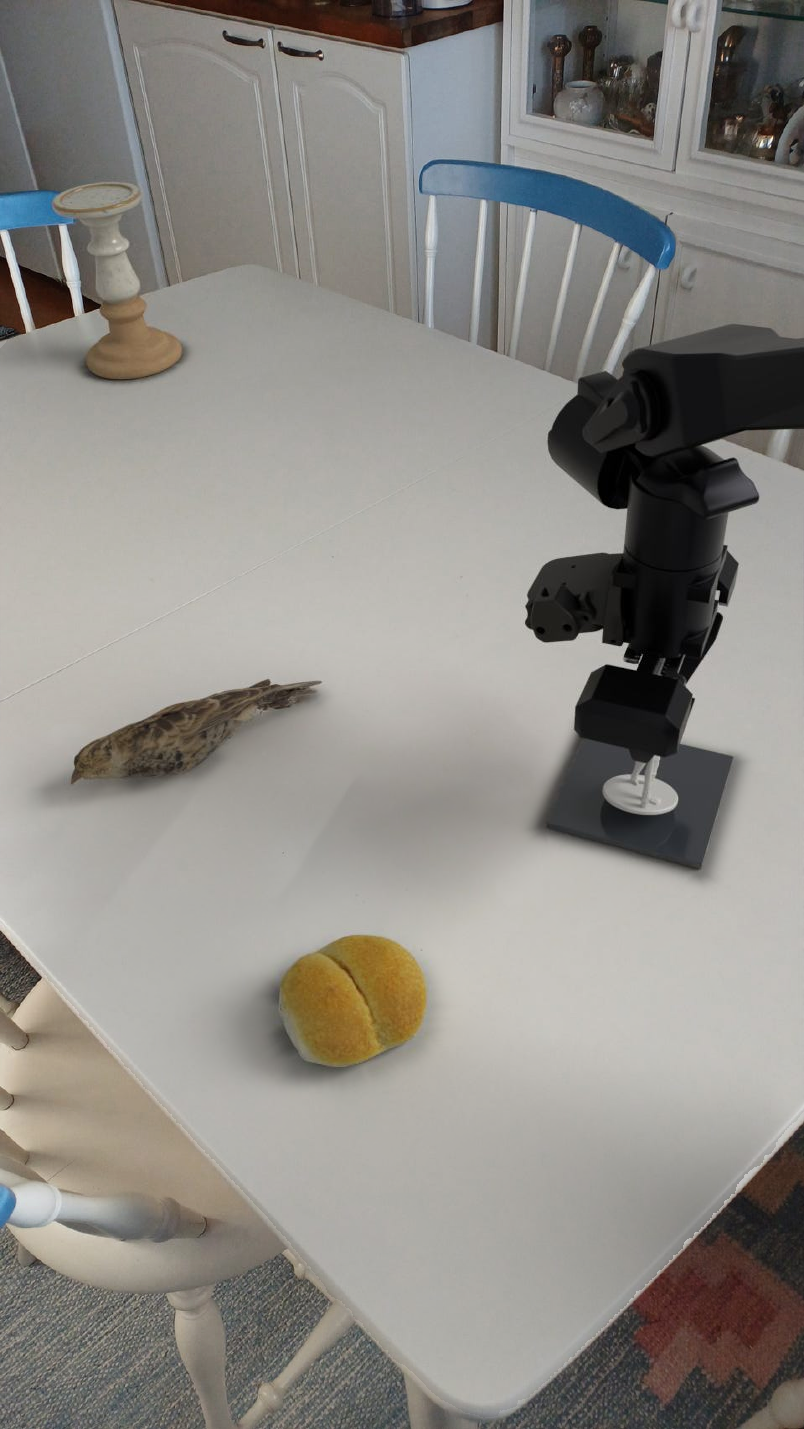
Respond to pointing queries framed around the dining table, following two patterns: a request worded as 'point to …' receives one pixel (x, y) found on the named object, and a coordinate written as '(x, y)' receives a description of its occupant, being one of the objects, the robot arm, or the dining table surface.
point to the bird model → (181, 733)
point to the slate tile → (655, 835)
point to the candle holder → (117, 285)
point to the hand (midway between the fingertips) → (649, 735)
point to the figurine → (641, 789)
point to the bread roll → (352, 1000)
